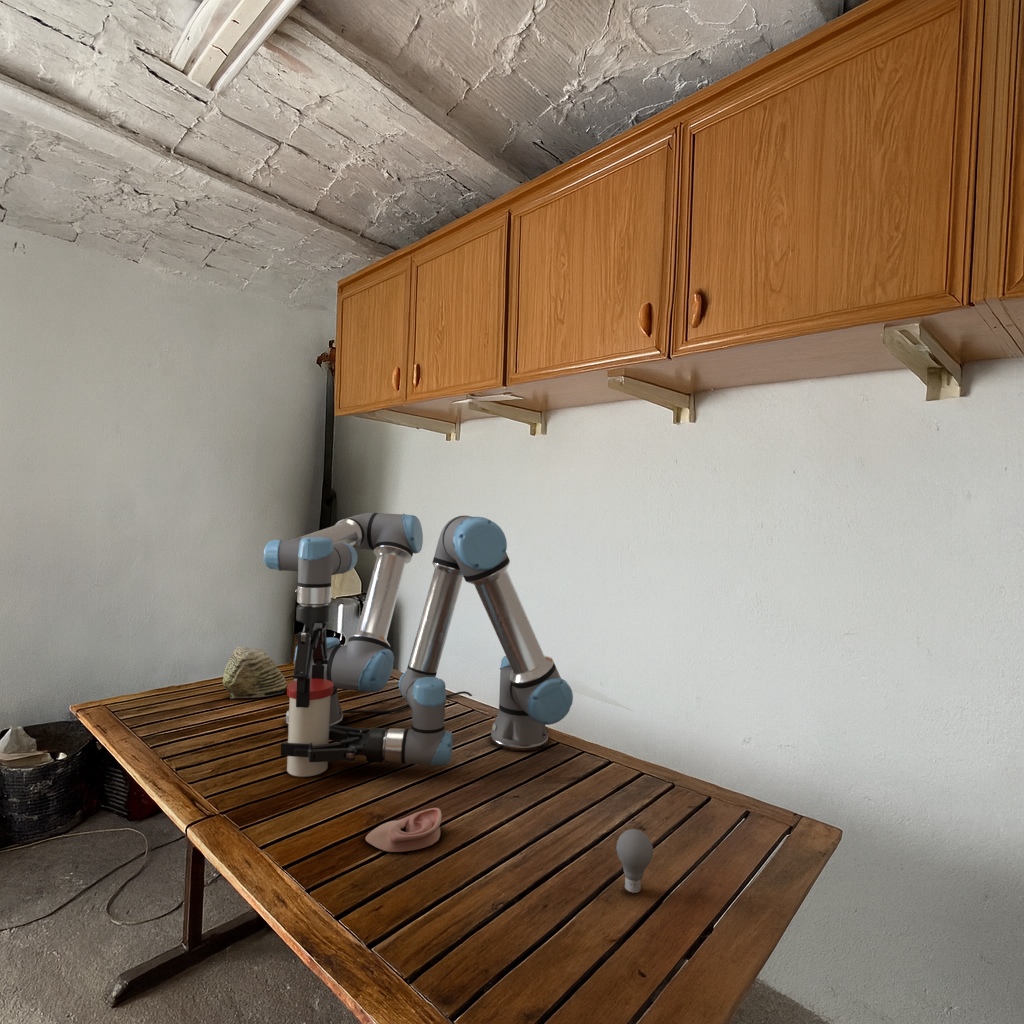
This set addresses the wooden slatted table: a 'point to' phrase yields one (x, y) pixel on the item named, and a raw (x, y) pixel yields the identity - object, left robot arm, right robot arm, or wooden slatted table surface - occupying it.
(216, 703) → the wooden slatted table surface
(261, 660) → the fossil
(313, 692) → the lid
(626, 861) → the light bulb
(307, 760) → the jar
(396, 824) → the anatomical model
